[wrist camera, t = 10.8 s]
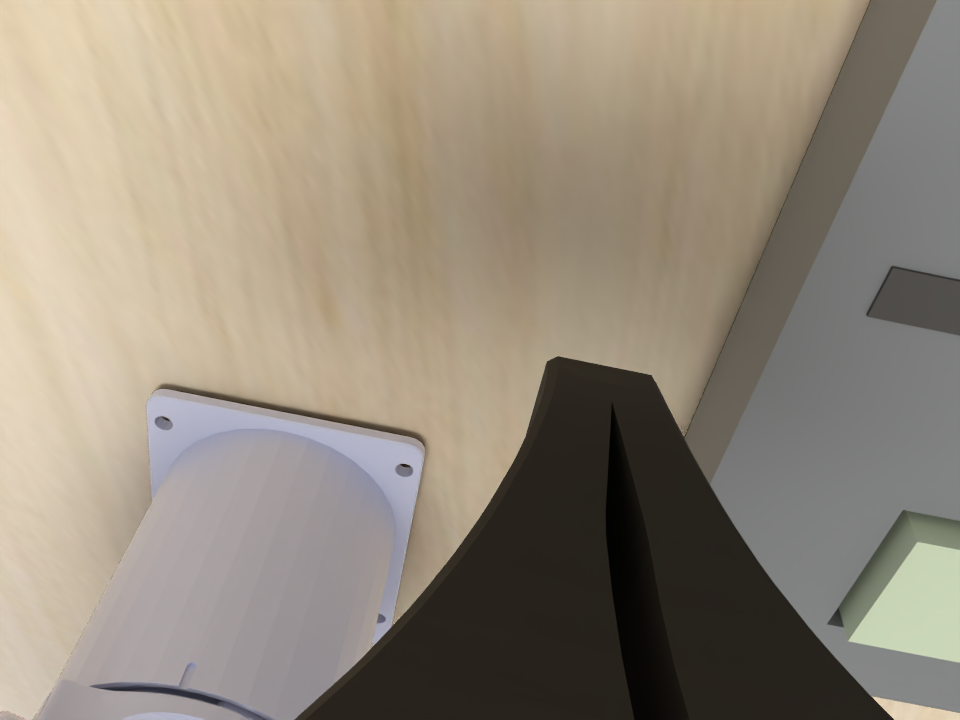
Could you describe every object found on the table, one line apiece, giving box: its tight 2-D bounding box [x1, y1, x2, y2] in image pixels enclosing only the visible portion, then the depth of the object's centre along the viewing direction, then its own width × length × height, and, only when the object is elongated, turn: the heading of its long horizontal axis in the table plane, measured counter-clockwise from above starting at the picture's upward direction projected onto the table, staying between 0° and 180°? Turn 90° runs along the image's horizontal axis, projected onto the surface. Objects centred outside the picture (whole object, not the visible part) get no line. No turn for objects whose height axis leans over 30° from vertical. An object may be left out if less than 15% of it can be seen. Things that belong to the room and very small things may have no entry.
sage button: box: [839, 510, 960, 663], centre depth 24 cm, size 4×4×3 cm
